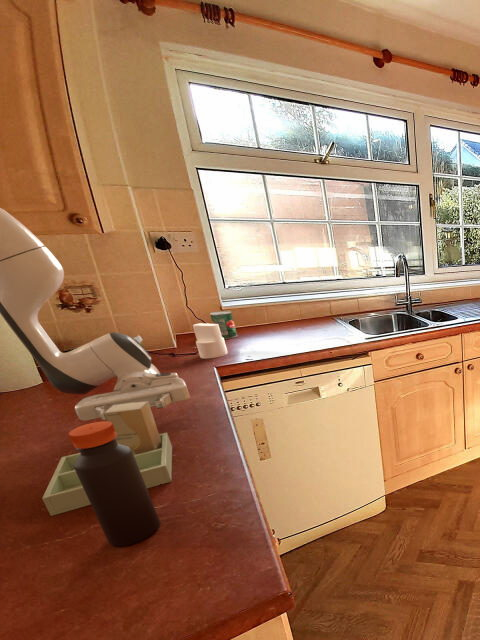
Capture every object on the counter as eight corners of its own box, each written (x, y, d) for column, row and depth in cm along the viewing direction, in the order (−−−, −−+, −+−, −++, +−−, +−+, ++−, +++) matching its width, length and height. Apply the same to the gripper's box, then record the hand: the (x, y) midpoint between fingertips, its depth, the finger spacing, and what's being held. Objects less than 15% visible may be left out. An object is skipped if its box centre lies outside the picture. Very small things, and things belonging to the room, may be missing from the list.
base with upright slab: (233, 351, 167) (225, 322, 163) (214, 359, 159) (205, 328, 155) (213, 350, 169) (205, 321, 164) (194, 357, 161) (184, 327, 156)
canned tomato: (215, 337, 189) (208, 312, 185) (235, 333, 194) (229, 310, 190) (218, 340, 183) (211, 315, 179) (239, 337, 188) (233, 312, 184)
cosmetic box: (122, 465, 89) (101, 413, 85) (131, 455, 93) (111, 404, 88) (159, 459, 91) (140, 408, 87) (166, 449, 95) (148, 400, 90)
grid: (50, 516, 76) (41, 498, 74) (69, 472, 89) (61, 456, 87) (171, 481, 85) (165, 465, 84) (172, 446, 98) (166, 432, 97)
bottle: (142, 546, 68) (95, 438, 61) (97, 549, 68) (45, 440, 60) (170, 518, 75) (131, 417, 67) (129, 521, 74) (85, 419, 67)
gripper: (75, 389, 98) (63, 410, 88) (183, 371, 109) (184, 387, 99) (86, 414, 100) (75, 436, 90) (191, 393, 111) (192, 411, 101)
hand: (133, 410), depth 94 cm, fingers open, 8 cm apart
